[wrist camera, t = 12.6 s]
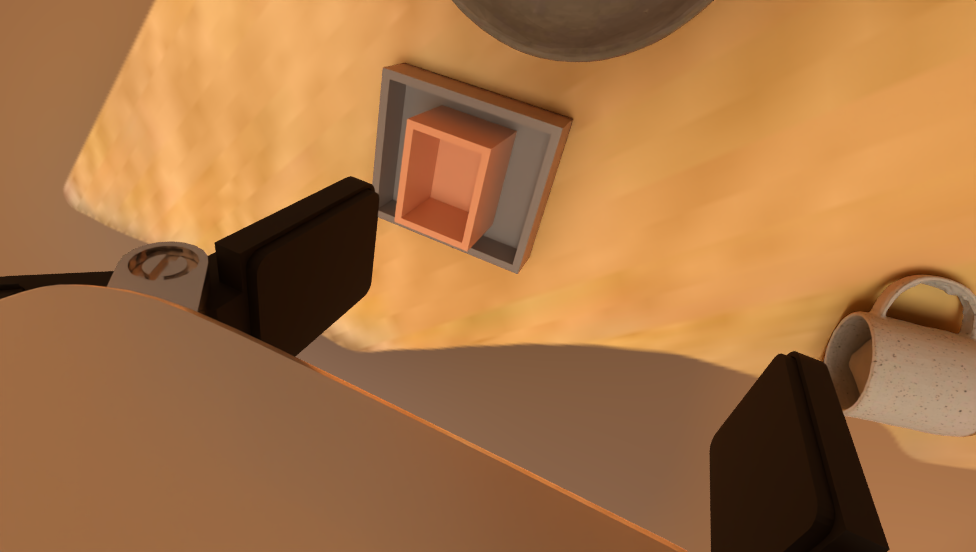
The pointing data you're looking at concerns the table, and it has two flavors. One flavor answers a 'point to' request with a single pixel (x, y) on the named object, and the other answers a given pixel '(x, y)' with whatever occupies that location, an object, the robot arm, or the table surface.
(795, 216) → the table surface
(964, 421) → the ceramic mug
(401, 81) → the tray
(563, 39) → the bowl
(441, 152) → the crate small
